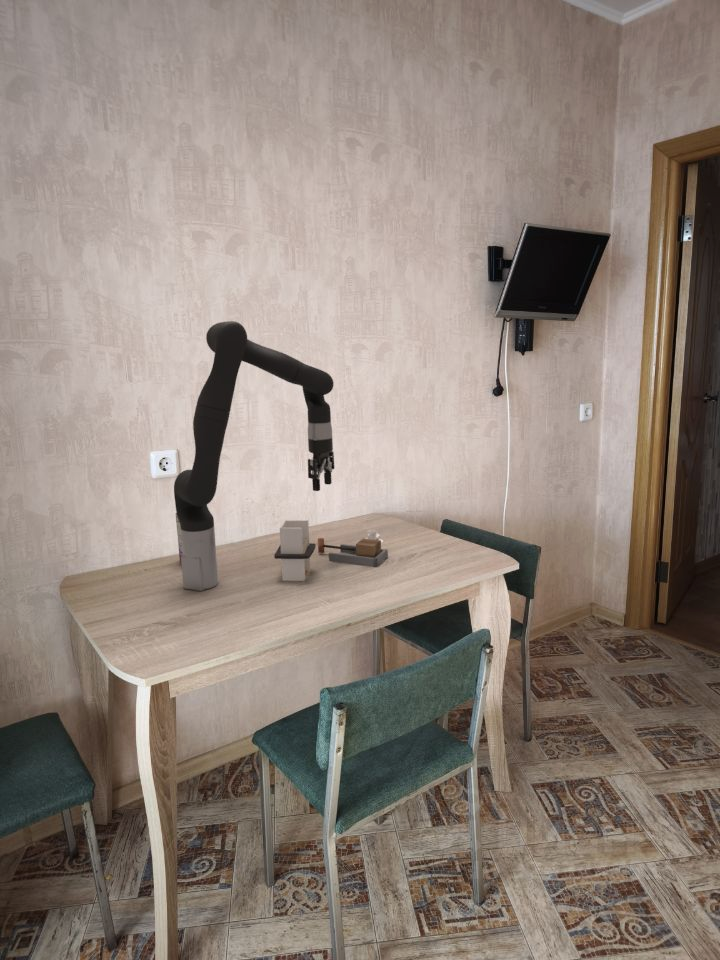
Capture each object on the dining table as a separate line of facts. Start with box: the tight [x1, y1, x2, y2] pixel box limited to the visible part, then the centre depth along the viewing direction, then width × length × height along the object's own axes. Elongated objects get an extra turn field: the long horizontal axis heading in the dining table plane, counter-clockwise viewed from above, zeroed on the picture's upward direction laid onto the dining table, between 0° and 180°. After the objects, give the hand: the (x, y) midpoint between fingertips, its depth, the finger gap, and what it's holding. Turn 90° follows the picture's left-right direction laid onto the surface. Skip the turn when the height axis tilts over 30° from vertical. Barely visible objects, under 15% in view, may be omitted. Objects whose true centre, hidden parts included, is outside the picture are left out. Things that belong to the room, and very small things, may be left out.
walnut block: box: [317, 537, 382, 558], centre depth 209 cm, size 6×20×6 cm, turn 67°
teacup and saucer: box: [364, 529, 384, 544], centre depth 225 cm, size 9×8×4 cm
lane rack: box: [328, 543, 389, 568], centre depth 208 cm, size 10×16×2 cm, turn 67°
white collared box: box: [273, 519, 316, 582], centre depth 193 cm, size 25×24×16 cm
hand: (322, 487), depth 208 cm, fingers open, 8 cm apart
